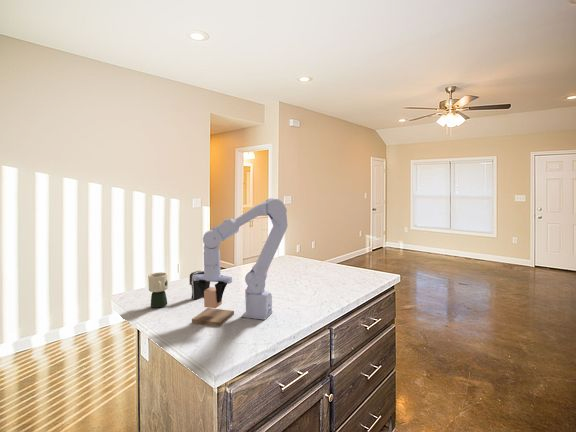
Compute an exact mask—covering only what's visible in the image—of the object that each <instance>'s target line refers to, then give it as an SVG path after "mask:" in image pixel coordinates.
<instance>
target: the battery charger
mask: <svg viewBox="0 0 576 432" xmlns="http://www.w3.org/2000/svg"><path fill="white" fill-rule="evenodd" d="M196 274H204V270H197V271H196V270H195V271H194V272H191V273H190V274H189V285H190V286H191V296H190V297H191V299H192V300H198V299H202V298H204V297H203V294H202V292H201V290H200V288H199V286H198V283H199V281H198V280H197V281H193V276H194V275H196Z"/></svg>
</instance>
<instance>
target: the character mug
mask: <svg viewBox="0 0 576 432" xmlns="http://www.w3.org/2000/svg"><path fill="white" fill-rule="evenodd" d="M147 281H148V291H149V292H151V297H150V307H152V308H156V307H157V308H160V307H165V306H167V305H168V299H167V293H166V291H167V290H168V289H169V288H168V287H169V284H168V283H169V282H168V272H154V273H150V274H148V280H147Z"/></svg>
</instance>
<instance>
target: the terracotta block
mask: <svg viewBox="0 0 576 432" xmlns="http://www.w3.org/2000/svg"><path fill="white" fill-rule="evenodd" d="M203 300H204V301H203V303H204V304H203V306H204V308H212V309H218V308H219V306H222V304H223V300H222V301H221V302H220V303H217V293H216V288H215V286H210V287H209V288H208V289H206V290H204V297H203Z"/></svg>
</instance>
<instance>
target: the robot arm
mask: <svg viewBox="0 0 576 432" xmlns="http://www.w3.org/2000/svg"><path fill="white" fill-rule="evenodd" d="M262 216H263V217H269V219H270V222H271V224H272V228H271V230H270V232H269V234H268V236H267V239H266V240H265V242H264V245H263V247H262V249H261V251H260V254H259V256H258V258H257V260H256V263H255V264H254V265H253V266H252V268H251V269H250V270H249V272H247V274H246V275H245V278H244V281H245V284H246V285H247V287H246V289H245V299H244V300H245V312H244V313H242V314H241V317H242V318H249V319H256V320H266V319H268V318H269V316H270V315H271V314H273V312H274V310H273V298H272V297H273V296H272V293H271V292H270V291H269V292H268V291H266V290H265V287H266V279H267V277H268V271H269V268H270V266H271V263H272V262H273V260H274V257H275V255H276V253H277V250H278V248H279V247H280V244H281V242H282V240H283V237H284V235H285V233H286V231H287V229H288V218H287V217H288V215H287V207H286V206H285V204H284V202H283V201H282V200H281V199H278V198H267V199H266V200H265V201H262V202H260V203H257V204H256V205H254V206H253V207H252V208H250V209H248V210H247V211H245V212H244V213H242V214H241V215H240V216H238V217H236V218H224V219H223V221H222V222H221V223H220V224H218V225H217V226H212V227H211V230H207V231H206V232H205V233H204V234H203V238H202V242H203V271H204V274H196V275H194V276H193V281H197V280H198V281H199V283H198V286H199V288H200V290H201V292H202V294H203V297H202V298H204V290H206V289H208V288H210V287H211V285H210V284H211V283H212V282H213V283H215V284H214V287H215V288H216V293H217V303H220V302H221V301H222V302H223V295H224V292H225V289H226V287H227V285H229V284H230V285H231V284H232V283H233V276H229V275H224V274H221V273H222V272H221V251H220V244H221V242H224V241H226V240H227V239H229V238H230V237H232V236H234V235H235V234H236V233H238V232H239V230H240V227H242V226H243V225H245V224H247V223H249V222H250V221H252V220H253V219H255V218H257V217H262Z"/></svg>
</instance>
